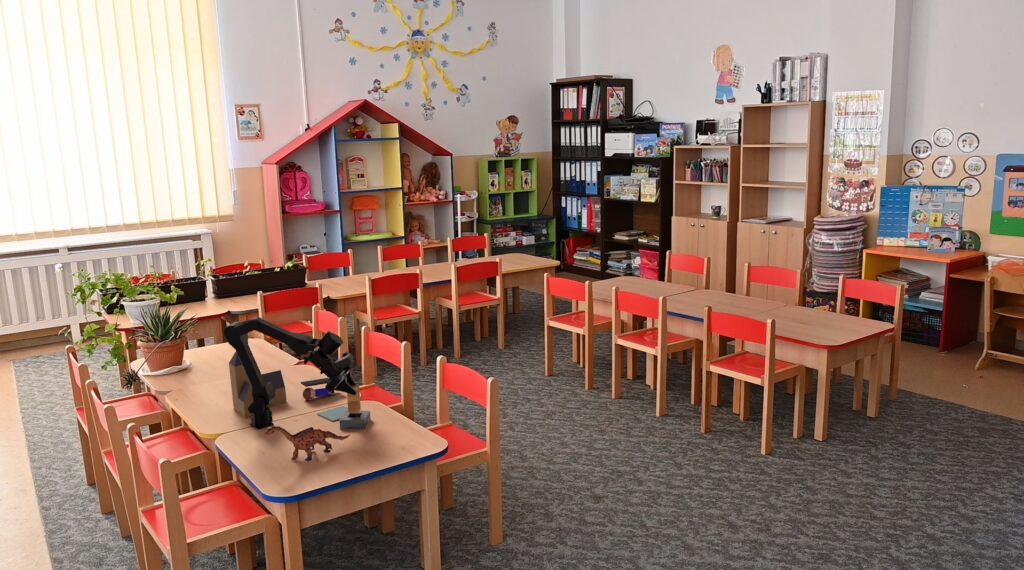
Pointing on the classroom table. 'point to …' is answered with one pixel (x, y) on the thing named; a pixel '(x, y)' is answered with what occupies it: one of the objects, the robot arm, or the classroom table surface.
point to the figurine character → (311, 393)
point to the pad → (333, 413)
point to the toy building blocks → (244, 388)
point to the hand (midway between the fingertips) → (357, 392)
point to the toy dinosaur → (307, 440)
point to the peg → (354, 401)
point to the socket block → (355, 420)
